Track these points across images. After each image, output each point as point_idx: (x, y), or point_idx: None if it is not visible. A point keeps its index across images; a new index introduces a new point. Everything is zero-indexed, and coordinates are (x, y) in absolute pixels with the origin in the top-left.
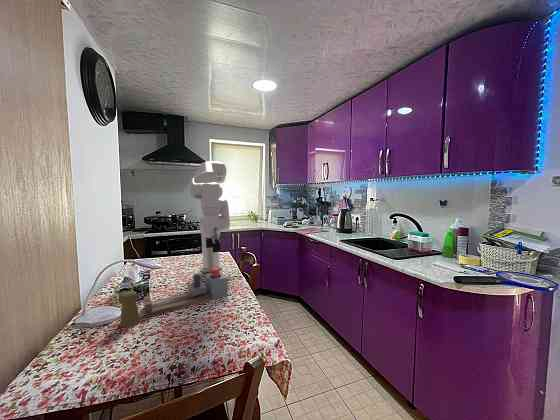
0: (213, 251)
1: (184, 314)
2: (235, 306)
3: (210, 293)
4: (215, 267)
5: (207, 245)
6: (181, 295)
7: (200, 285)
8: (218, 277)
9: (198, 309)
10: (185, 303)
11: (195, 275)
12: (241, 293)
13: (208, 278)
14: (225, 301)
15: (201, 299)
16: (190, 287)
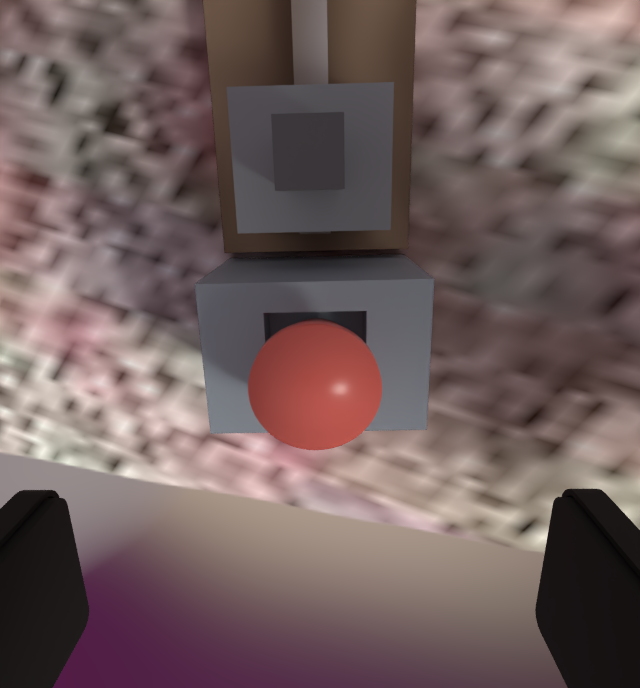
0: (15, 506)
1: (91, 9)
2: (49, 352)
3: (263, 261)
4: (359, 406)
5: (586, 549)
6: (323, 15)
7: (305, 195)
8: None
9: (121, 125)
10: (207, 36)
11: (286, 135)
12: (212, 449)
13: (291, 281)
14: (149, 324)
15: (219, 175)
16: (312, 93)
